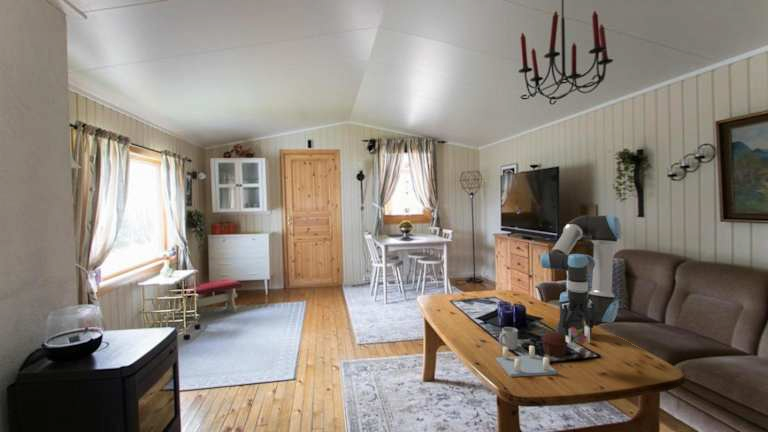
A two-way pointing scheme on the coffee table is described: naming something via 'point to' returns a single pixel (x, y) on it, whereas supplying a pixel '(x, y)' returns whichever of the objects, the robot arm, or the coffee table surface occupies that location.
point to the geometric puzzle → (578, 335)
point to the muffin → (554, 344)
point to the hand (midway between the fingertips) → (577, 341)
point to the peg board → (525, 364)
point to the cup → (509, 338)
